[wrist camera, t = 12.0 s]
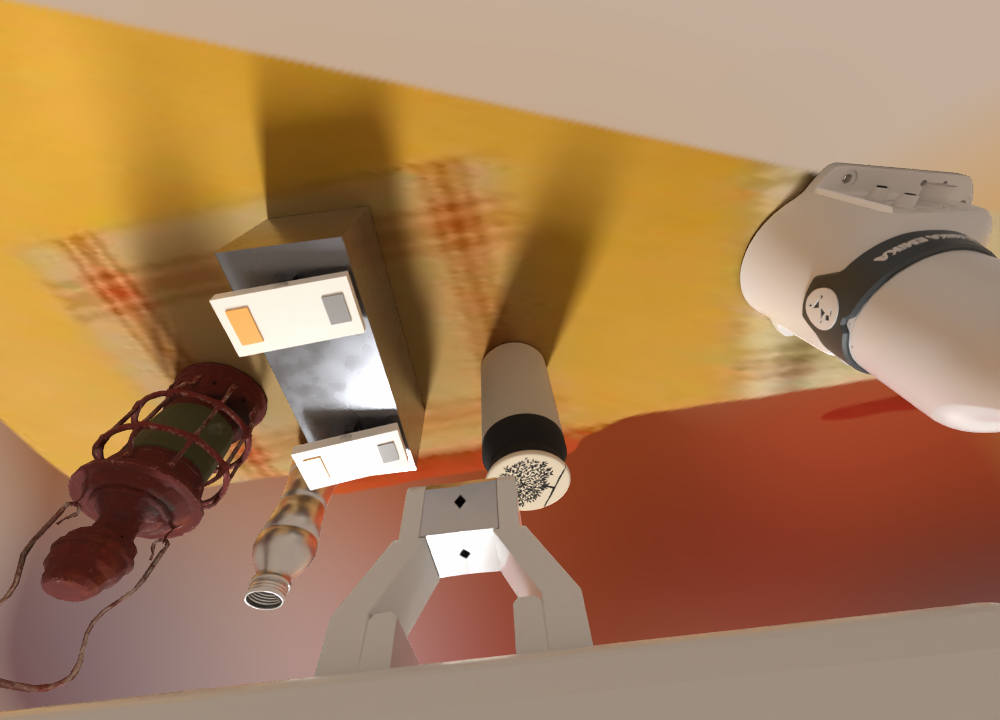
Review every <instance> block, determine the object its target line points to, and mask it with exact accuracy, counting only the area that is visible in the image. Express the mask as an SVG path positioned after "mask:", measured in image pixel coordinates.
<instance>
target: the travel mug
mask: <svg viewBox="0 0 1000 720" xmlns="http://www.w3.org/2000/svg"><path fill="white" fill-rule="evenodd" d="M481 411H482V460H483V464H484V466H485V468H486V470H487V471H488V474H487V477H486V479H488V478H495V477H496V478H497V477H505V476H513V475H514V476H515V481H516V488H517V495H518V503H519V510H535V509H540V508H543V507H546V506H548V505H550V504H552V503H554V502H556V501H557V500H559V498H561V497H562V496H563V495H564V494H565V492H566V491H567V489H568V487H569V484H570V471H569V469H568V467H567V465H566V464H565V463H564V462H565V460H566V456H567V448H566V444H565V440H564V436H563V432H562V428H561V424H560V420H559V416H558V412H557V408H556V404H555V400H554V396H553V392H552V388H551V384H550V380H549V376H548V372H547V368H546V364H545V361H544V358H543V357H542V355H541V354H540V353H539V351H537V350H536V349H535V348H533V347H532V346H530V345H527V344H524V343H516V342H513V343H506V344H502V345H500V346H498V347H496V348H494V349H493V350H491V351H490V352H489V353H488V354H487V355H486V357H485V358H484V360H483V362H482V365H481Z"/></svg>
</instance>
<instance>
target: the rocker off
mask: <svg viewBox="0 0 1000 720" xmlns="http://www.w3.org/2000/svg"><path fill="white" fill-rule="evenodd" d="M292 457H293V459H294V461H295V463H296V465H297V466H298V468H299V470H300V472H301V474H302V476H303V478H304V479H305V481H306V483H307V485H308V487H309V489H310V490H313V489H317V488H321V487H325V486H329V485H333V484H338V483H342V482H346V481H350V480H354V479H358V478H362V477H366V476H370V475H374V474H378V473H382V472H386V471H391V470H395V469H399V468H403V467H407V466H409V457H408V454H407V451H406V448H405V445H404V442H403V439H402V436H401V433H400V430H399V426H398V423H397V422H396V423H392V424H388V425H384V426H379V427H375V428H371V429H366V430H362V431H358V432H353V433H349V434H345V435H340V436H336V437H332V438H327V439H323V440H319V441H314V442H310V443H306V444H302V445H297V446H294V447H293V451H292Z"/></svg>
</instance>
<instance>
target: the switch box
mask: <svg viewBox="0 0 1000 720" xmlns="http://www.w3.org/2000/svg"><path fill="white" fill-rule="evenodd" d="M215 255H216V257H217V259H218V261H219V263H220V265H221V267H222V269H223V271H224V273H225V275H226V277H227V279H228V281H229V283H230V285H231V288H232V290H233V291H237V290H242V289H248V288H253V287H259V286H265V285H270V284H276V283H281V282H287V281H293V280H298V279H304V278H309V277H315V276H321V275H326V274H332V273H337V272H343V271H348V273H349V276H350V279H351V282H352V285H353V288H354V291H355V294H356V298H357V301H358V304H359V307H360V310H361V313H362V316H363V319H364V322H365V325H366V328H365V333H360V334H355V335H350V336H345V337H340V338H335V339H330V340H325V341H320V342H314V343H309V344H304V345H299V346H294V347H289V348H284V349H279V350H274V351H269V352H264V354H265V356H266V358H267V360H268V362H269V364H270V366H271V368H272V370H273V372H274V374H275V376H276V378H277V381H278V383H279V385H280V387H281V389H282V391H283V393H284V395H285V397H286V399H287V401H288V403H289V405H290V407H291V409H292V411H293V413H294V415H295V417H296V419H297V421H298V423H299V425H300V427H301V429H302V431H303V433H304V435H305V437H306V439H307V441H308V443H310V442H314V441H319V440H323V439H327V438H332V437H336V436H340V435H345V434H349V433H353V432H358V431H362V430H366V429H371V428H375V427H379V426H384V425H388V424H392V423H396V422H397V423H398V426H399V430H400V433H401V436H402V439H403V442H404V445H405V448H406V451H407V454H408V457H409V466H407V467H403V468H399V469H395V470H391V471H386V472H382V473H378V474H386V473H394V472H403V471H411V470H416V468H417V461H418V455H419V448H420V442H421V435H422V429H423V422H424V416H425V409H424V406H423V402H422V398H421V395H420V391H419V387H418V383H417V380H416V376H415V372H414V369H413V365H412V361H411V358H410V354H409V350H408V347H407V343H406V339H405V336H404V332H403V328H402V325H401V321H400V317H399V314H398V310H397V306H396V303H395V299H394V295H393V292H392V288H391V284H390V281H389V277H388V273H387V270H386V266H385V262H384V259H383V255H382V251H381V248H380V244H379V240H378V237H377V233H376V229H375V226H374V222H373V218H372V215H371V211H370V207H369V206H363V207H355V208H347V209H340V210H332V211H324V212H317V213H309V214H301V215H293V216H286V217H278V218H270V219H267V220H265V221H263V222H262V223H260V224H259V225H257V226H256V227H254V228H253V229H251V230H249V231H248V232H246V233H245V234H243V235H242V236H240V237H239V238H237V239H235V240H234V241H232V242H231V243H229V244H228V245H226V246H225V247H223V248H221V249H220V250H218V251H217V252H215ZM374 475H377V474H374Z"/></svg>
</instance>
